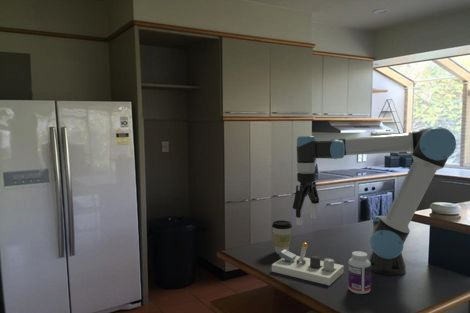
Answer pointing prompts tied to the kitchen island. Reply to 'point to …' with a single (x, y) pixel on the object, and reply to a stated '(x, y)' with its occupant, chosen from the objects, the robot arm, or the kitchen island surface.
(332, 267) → the button grey
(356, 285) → the pill bottle
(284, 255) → the slate blue block
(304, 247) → the lever
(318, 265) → the button black
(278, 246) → the coffee cup
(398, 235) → the robot arm
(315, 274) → the panel
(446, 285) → the kitchen island surface
